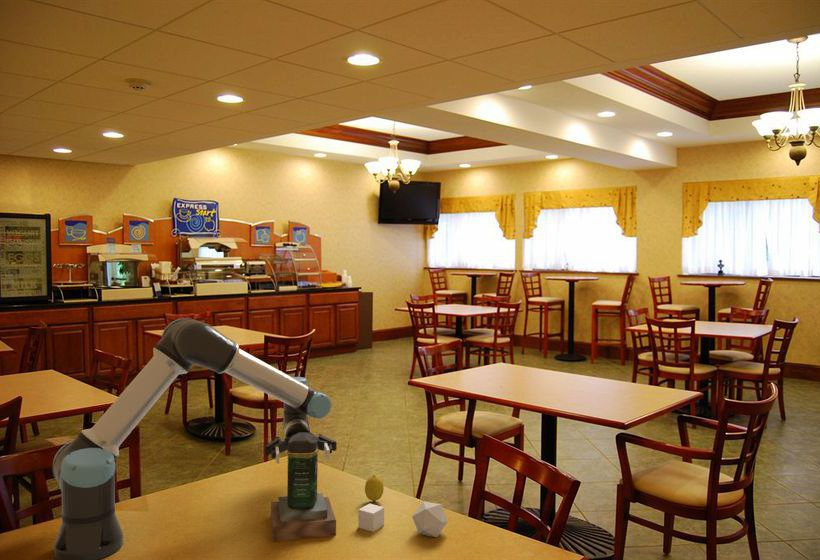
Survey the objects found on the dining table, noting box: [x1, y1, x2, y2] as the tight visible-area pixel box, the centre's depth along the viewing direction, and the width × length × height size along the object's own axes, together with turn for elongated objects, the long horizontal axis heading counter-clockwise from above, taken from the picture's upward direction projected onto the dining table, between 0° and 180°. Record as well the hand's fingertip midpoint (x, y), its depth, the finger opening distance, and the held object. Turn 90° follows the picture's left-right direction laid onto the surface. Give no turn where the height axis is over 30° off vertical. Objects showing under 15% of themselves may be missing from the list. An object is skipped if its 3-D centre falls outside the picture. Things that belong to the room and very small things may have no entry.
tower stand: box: [270, 492, 337, 543], centre depth 167 cm, size 16×16×6 cm
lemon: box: [364, 474, 385, 503], centre depth 183 cm, size 6×6×8 cm
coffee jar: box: [286, 432, 319, 509], centre depth 167 cm, size 10×8×19 cm
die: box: [411, 500, 449, 538], centre depth 163 cm, size 8×9×10 cm
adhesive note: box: [357, 503, 385, 533], centre depth 167 cm, size 5×5×5 cm
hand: (303, 456), depth 169 cm, fingers open, 13 cm apart
